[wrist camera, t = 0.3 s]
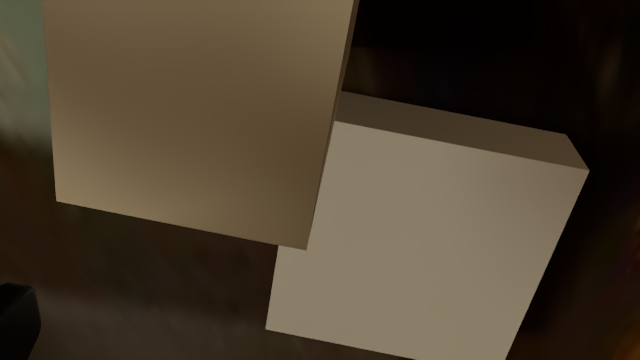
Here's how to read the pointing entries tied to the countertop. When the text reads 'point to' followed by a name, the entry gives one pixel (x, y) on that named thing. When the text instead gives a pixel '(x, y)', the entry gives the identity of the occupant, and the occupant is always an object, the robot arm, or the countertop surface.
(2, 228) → the countertop surface
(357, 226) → the base slab
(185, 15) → the oak post
